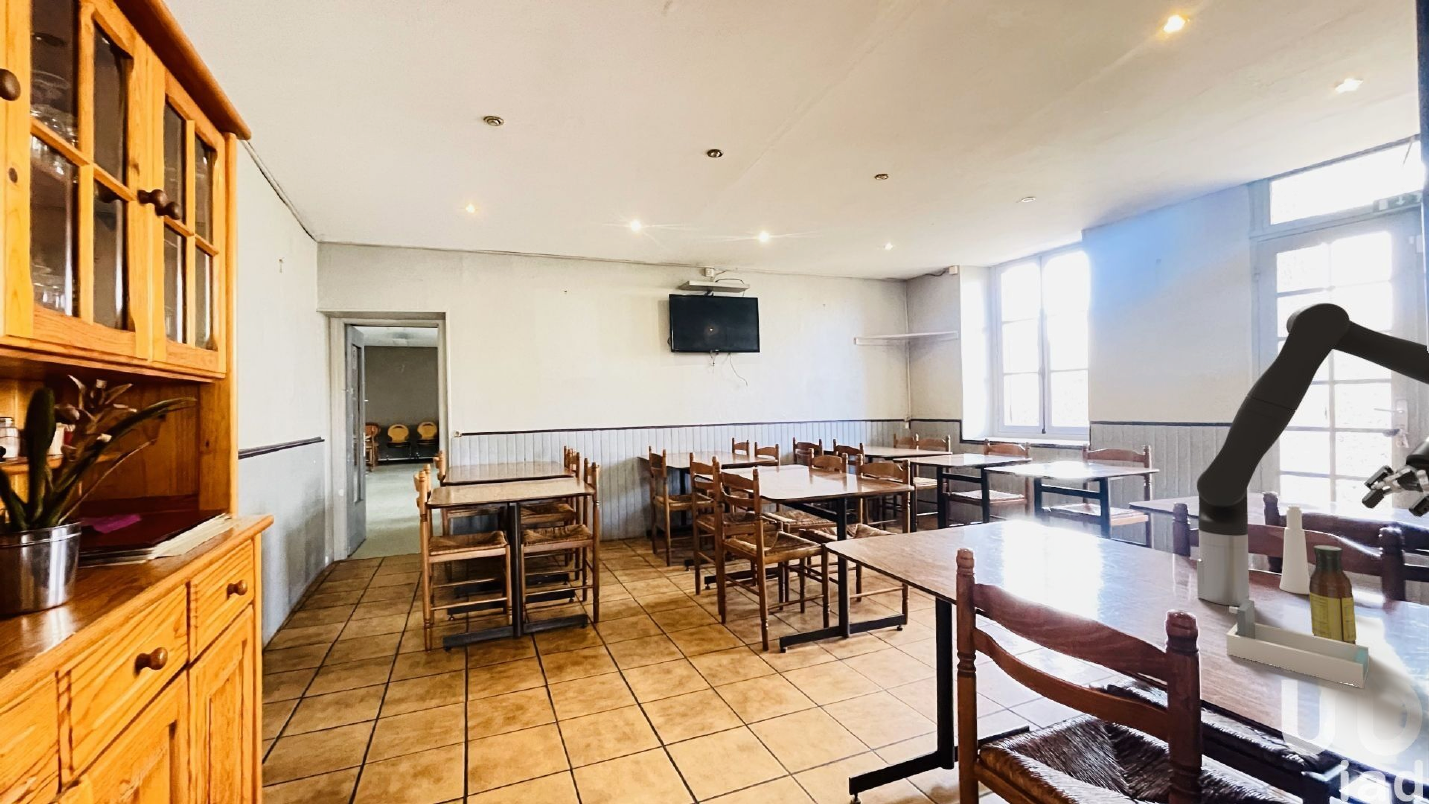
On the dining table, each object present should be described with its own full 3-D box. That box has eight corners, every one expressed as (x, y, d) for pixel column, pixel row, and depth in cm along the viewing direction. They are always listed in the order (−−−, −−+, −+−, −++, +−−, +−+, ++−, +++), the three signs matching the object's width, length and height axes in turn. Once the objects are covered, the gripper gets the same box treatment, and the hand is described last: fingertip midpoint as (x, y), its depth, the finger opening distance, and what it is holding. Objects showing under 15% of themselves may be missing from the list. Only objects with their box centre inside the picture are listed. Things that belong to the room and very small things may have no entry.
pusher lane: (1226, 654, 114) (1226, 634, 114) (1240, 638, 121) (1239, 619, 121) (1362, 688, 100) (1362, 666, 100) (1368, 668, 107) (1368, 647, 107)
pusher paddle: (1225, 645, 116) (1224, 606, 116) (1235, 633, 121) (1234, 597, 121) (1245, 650, 113) (1244, 611, 113) (1255, 638, 118) (1254, 600, 118)
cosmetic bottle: (1286, 592, 147) (1284, 507, 147) (1274, 585, 153) (1272, 503, 153) (1317, 595, 145) (1315, 508, 145) (1305, 588, 150) (1303, 504, 150)
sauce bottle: (1346, 640, 119) (1343, 545, 119) (1364, 652, 113) (1362, 552, 113) (1303, 635, 122) (1301, 542, 122) (1319, 647, 116) (1317, 549, 116)
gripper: (1392, 437, 124) (1338, 491, 124) (1477, 442, 110) (1416, 503, 110) (1419, 461, 124) (1365, 515, 124) (1507, 469, 109) (1446, 530, 110)
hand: (1389, 509), depth 117 cm, fingers open, 8 cm apart
